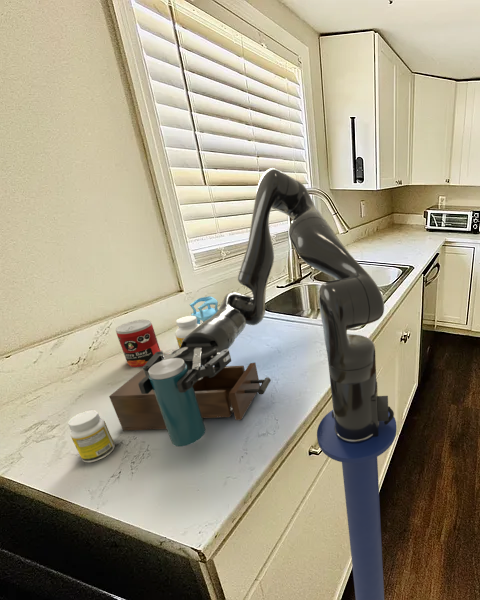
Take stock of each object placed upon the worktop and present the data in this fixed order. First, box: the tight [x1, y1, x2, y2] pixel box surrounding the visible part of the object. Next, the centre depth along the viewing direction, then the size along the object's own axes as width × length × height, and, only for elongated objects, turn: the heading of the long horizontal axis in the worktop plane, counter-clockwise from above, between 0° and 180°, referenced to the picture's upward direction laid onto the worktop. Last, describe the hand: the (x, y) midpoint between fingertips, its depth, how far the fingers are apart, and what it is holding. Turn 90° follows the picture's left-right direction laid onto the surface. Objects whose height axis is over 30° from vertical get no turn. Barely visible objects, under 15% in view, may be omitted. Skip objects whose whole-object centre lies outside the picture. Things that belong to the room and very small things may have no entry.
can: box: [148, 358, 207, 448], centre depth 57 cm, size 5×5×15 cm
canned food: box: [115, 319, 161, 368], centre depth 90 cm, size 8×8×11 cm
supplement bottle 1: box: [67, 409, 116, 463], centre depth 60 cm, size 5×5×8 cm
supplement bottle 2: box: [174, 315, 201, 349], centre depth 90 cm, size 7×7×13 cm
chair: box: [189, 295, 219, 325], centre depth 107 cm, size 8×8×12 cm
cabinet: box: [108, 368, 167, 432], centre depth 71 cm, size 14×13×9 cm
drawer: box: [193, 362, 271, 421], centre depth 72 cm, size 17×11×7 cm
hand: (161, 388), depth 53 cm, fingers closed on can, 5 cm apart
